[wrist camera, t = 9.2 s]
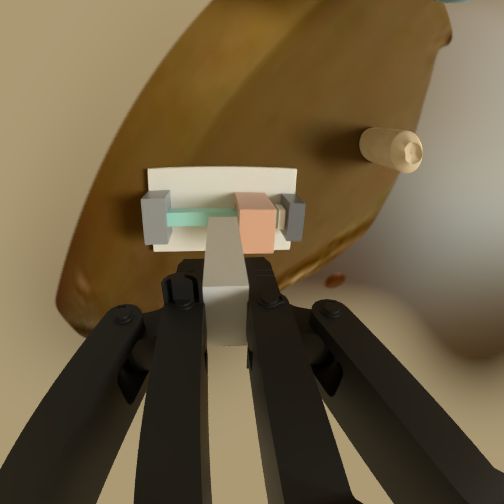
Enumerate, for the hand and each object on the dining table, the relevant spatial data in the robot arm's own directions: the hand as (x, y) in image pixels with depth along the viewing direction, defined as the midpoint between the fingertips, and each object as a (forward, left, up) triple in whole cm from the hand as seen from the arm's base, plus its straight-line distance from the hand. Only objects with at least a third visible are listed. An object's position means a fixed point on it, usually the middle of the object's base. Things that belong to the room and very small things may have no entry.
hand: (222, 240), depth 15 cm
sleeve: (+5, +4, -23) cm, 24 cm away
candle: (-5, +23, -24) cm, 34 cm away
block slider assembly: (+5, +1, -24) cm, 24 cm away
